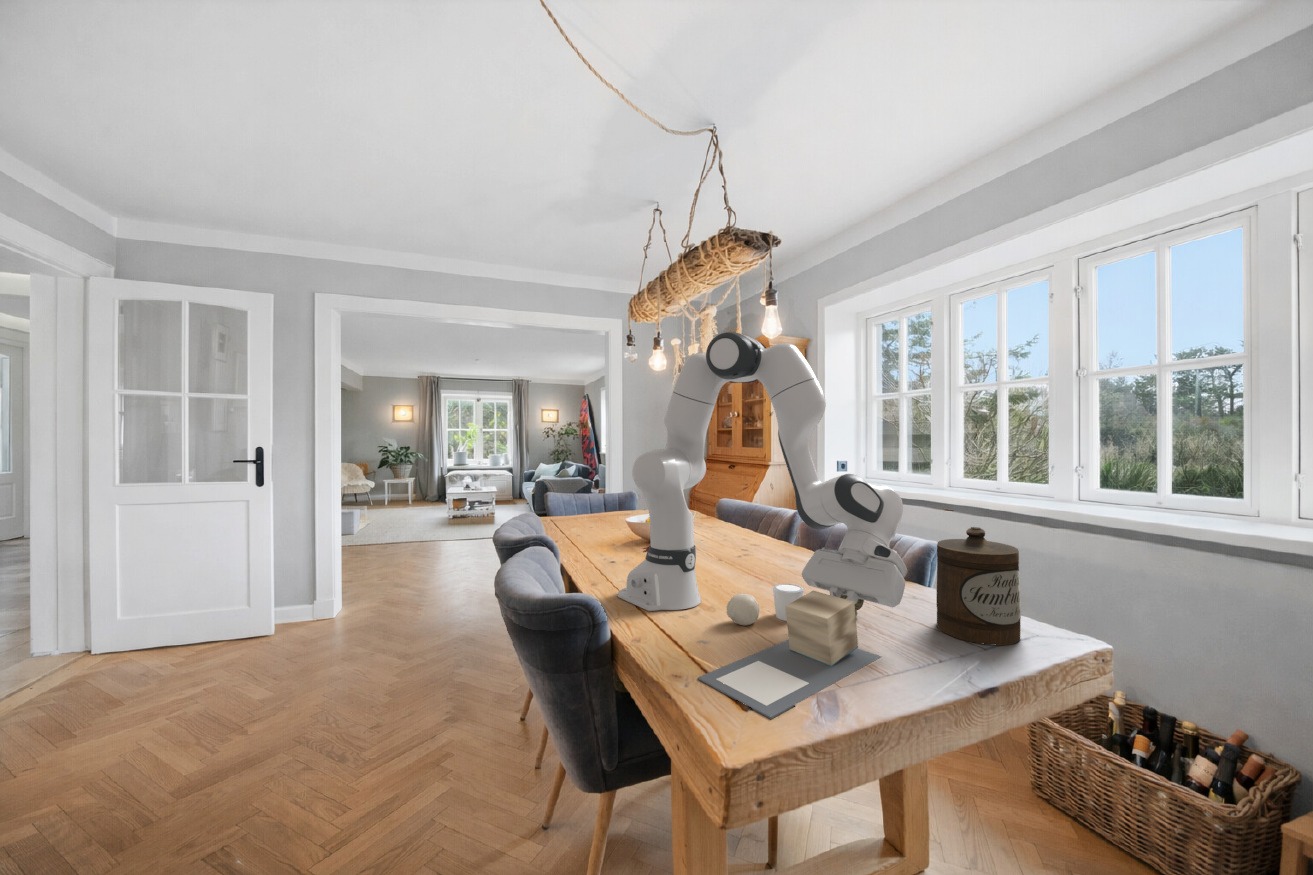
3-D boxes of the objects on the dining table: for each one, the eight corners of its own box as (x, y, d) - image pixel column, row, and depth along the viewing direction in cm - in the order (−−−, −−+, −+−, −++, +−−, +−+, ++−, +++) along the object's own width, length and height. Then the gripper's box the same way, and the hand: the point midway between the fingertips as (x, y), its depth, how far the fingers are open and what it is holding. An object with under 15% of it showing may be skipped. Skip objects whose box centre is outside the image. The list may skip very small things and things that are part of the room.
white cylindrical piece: (805, 624, 111) (805, 592, 111) (773, 622, 112) (773, 591, 112) (802, 613, 117) (802, 583, 117) (772, 612, 119) (772, 582, 119)
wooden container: (981, 650, 96) (979, 536, 96) (921, 623, 110) (919, 523, 110) (1039, 640, 100) (1037, 531, 100) (974, 615, 114) (972, 519, 114)
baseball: (721, 620, 114) (721, 591, 114) (751, 617, 115) (751, 588, 115) (733, 631, 107) (732, 600, 107) (764, 628, 109) (764, 597, 109)
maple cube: (817, 633, 102) (813, 590, 101) (858, 647, 95) (854, 601, 94) (789, 650, 96) (785, 605, 96) (831, 667, 89) (826, 618, 89)
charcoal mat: (808, 632, 106) (808, 631, 106) (881, 658, 93) (881, 656, 93) (697, 679, 86) (697, 677, 86) (771, 719, 74) (771, 717, 74)
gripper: (811, 537, 111) (785, 590, 105) (904, 553, 95) (879, 617, 89) (823, 554, 114) (798, 607, 108) (916, 572, 98) (892, 635, 92)
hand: (836, 611), depth 98 cm, fingers closed, pressing on maple cube
